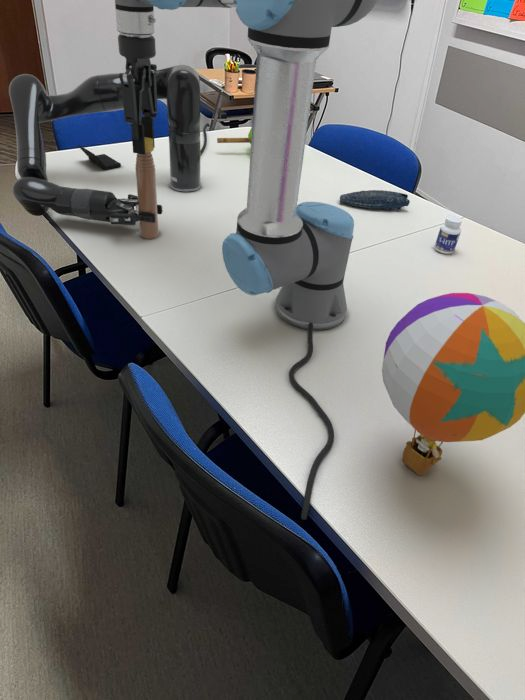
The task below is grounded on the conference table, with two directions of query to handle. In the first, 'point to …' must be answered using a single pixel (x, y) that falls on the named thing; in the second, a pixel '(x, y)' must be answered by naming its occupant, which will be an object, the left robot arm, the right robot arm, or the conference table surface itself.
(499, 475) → the conference table surface
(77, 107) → the left robot arm
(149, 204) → the bottle
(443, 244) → the pill bottle
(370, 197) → the fish model
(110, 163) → the black angled piece
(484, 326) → the toy
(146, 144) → the cap
